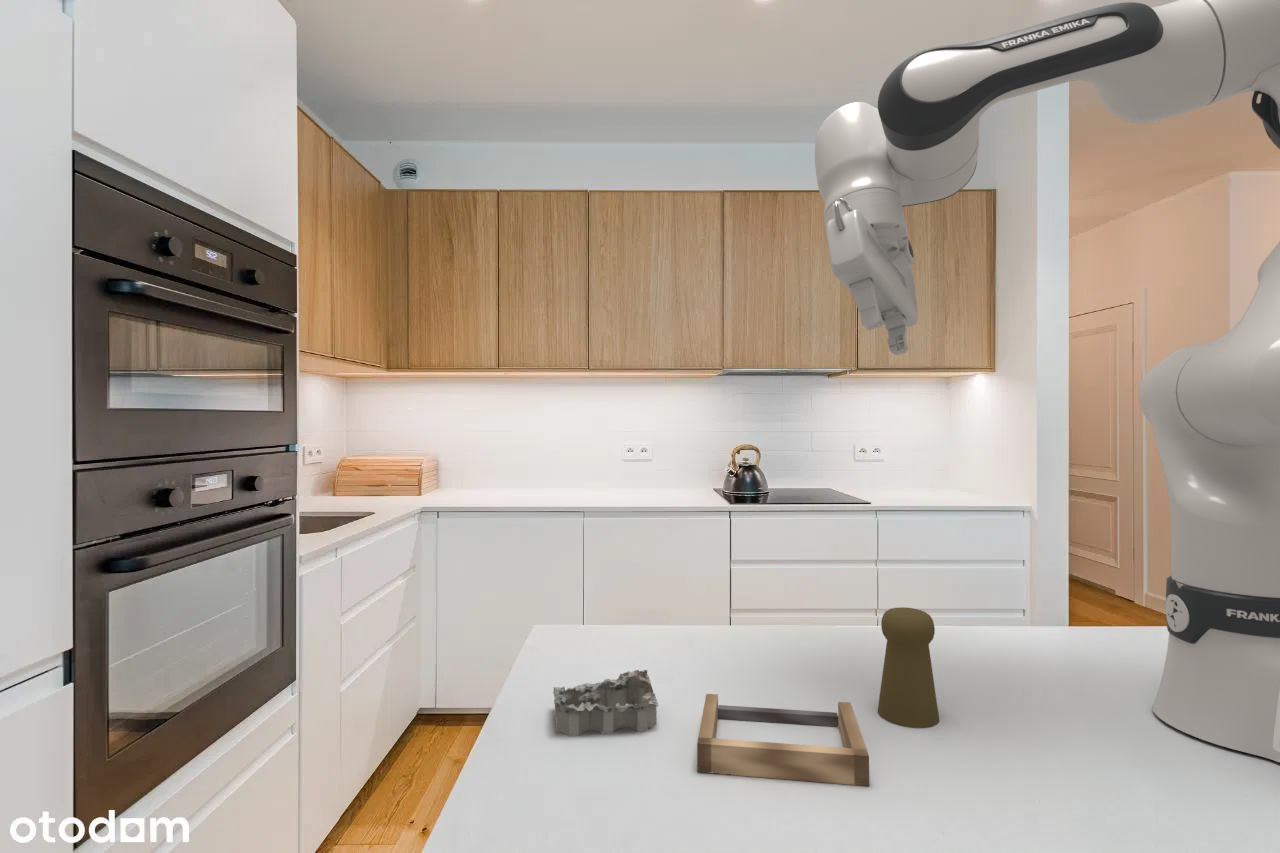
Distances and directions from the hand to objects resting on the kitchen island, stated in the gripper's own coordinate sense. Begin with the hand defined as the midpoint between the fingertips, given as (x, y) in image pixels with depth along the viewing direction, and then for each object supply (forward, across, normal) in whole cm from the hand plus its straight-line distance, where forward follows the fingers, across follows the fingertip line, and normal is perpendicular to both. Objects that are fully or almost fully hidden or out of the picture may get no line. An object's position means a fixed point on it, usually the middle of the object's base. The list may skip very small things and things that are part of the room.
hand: (886, 340), depth 76 cm
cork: (+40, +5, +6) cm, 40 cm away
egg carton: (+38, -15, +31) cm, 51 cm away
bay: (+40, -9, +14) cm, 44 cm away
